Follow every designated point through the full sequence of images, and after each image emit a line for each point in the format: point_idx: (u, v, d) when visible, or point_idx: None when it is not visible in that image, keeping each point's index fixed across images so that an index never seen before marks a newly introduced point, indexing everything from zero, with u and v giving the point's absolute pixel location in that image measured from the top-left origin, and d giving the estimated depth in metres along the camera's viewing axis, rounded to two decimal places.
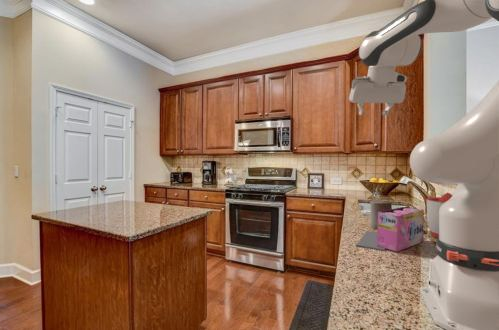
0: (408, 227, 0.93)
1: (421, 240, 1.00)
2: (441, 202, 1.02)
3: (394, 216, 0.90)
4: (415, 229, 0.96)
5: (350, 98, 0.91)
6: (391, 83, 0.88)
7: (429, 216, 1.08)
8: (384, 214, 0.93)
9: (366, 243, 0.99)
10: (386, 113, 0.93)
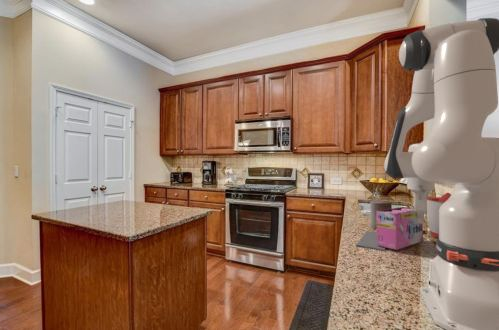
0: (407, 225, 0.94)
1: (421, 239, 1.00)
2: (441, 202, 1.02)
3: (392, 214, 0.90)
4: (414, 228, 0.97)
5: (419, 208, 0.86)
6: None
7: (429, 216, 1.08)
8: (382, 213, 0.94)
9: (366, 243, 0.99)
10: None
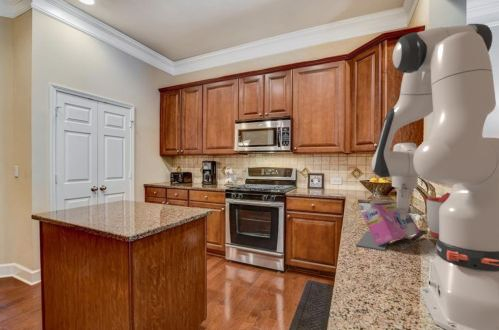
0: (394, 216, 0.98)
1: (417, 230, 1.01)
2: (441, 202, 1.02)
3: (374, 208, 0.96)
4: None
5: (401, 206, 0.90)
6: None
7: (429, 216, 1.08)
8: (366, 211, 0.99)
9: (366, 243, 0.99)
10: (407, 212, 1.02)
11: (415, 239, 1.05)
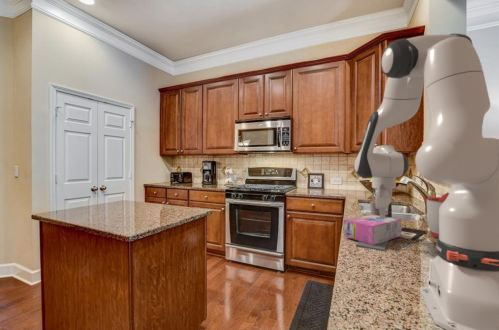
0: (366, 219, 1.07)
1: (397, 219, 1.07)
2: (441, 202, 1.02)
3: (344, 222, 1.07)
4: (377, 218, 1.09)
5: (379, 205, 0.94)
6: None
7: (429, 216, 1.08)
8: (344, 231, 1.07)
9: (366, 243, 0.99)
10: (387, 213, 1.05)
11: (415, 239, 1.05)
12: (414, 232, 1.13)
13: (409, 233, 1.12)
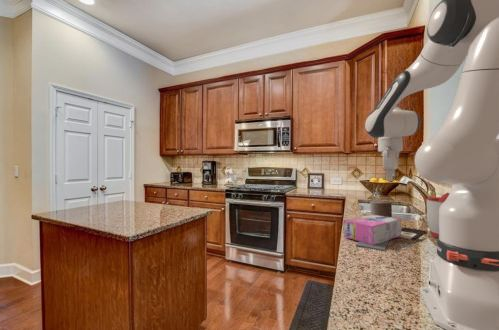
0: (365, 219, 1.07)
1: (396, 218, 1.07)
2: (441, 202, 1.02)
3: (344, 223, 1.07)
4: (377, 218, 1.09)
5: (387, 165, 0.91)
6: None
7: (429, 216, 1.08)
8: (344, 231, 1.07)
9: (366, 243, 0.99)
10: (394, 178, 1.03)
11: (415, 239, 1.05)
12: (414, 232, 1.13)
13: (409, 233, 1.12)
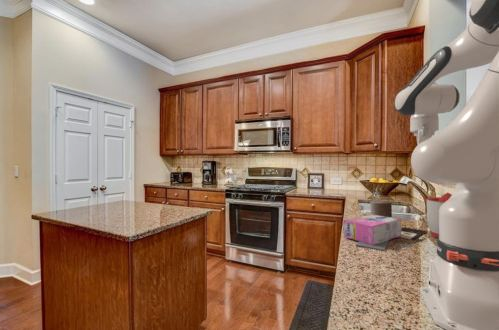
0: (365, 219, 1.07)
1: (396, 218, 1.07)
2: (441, 202, 1.02)
3: (344, 223, 1.07)
4: (377, 218, 1.09)
5: None
6: None
7: (429, 216, 1.08)
8: (344, 231, 1.07)
9: (366, 243, 0.99)
10: None
11: (415, 239, 1.05)
12: (414, 232, 1.13)
13: (409, 233, 1.12)
